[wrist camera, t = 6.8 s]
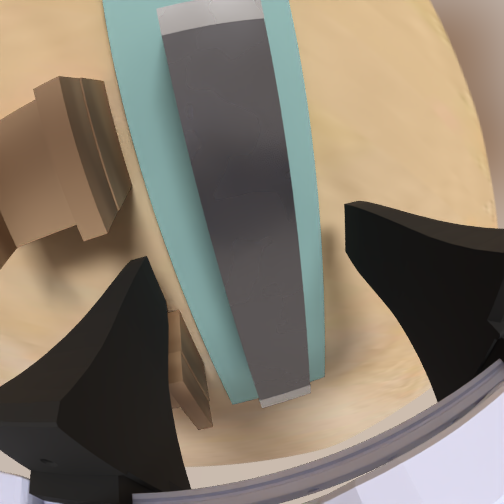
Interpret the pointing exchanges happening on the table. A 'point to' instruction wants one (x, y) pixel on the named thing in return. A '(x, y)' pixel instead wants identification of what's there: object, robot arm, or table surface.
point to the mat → (185, 189)
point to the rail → (243, 180)
